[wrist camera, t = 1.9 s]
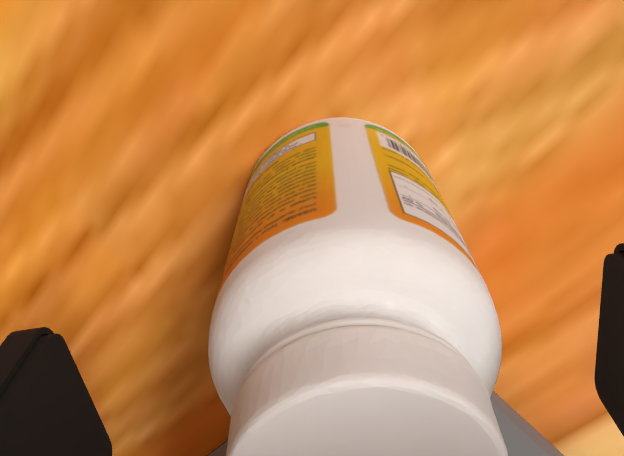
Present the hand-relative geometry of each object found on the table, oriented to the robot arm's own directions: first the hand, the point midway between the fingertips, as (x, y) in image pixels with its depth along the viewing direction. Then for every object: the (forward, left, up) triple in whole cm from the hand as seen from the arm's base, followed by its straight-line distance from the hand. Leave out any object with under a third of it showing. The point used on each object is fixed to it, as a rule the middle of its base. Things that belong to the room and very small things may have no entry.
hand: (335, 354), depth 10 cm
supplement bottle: (-1, 0, -7) cm, 7 cm away
